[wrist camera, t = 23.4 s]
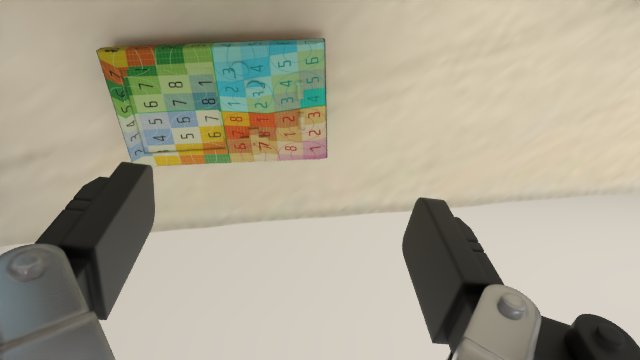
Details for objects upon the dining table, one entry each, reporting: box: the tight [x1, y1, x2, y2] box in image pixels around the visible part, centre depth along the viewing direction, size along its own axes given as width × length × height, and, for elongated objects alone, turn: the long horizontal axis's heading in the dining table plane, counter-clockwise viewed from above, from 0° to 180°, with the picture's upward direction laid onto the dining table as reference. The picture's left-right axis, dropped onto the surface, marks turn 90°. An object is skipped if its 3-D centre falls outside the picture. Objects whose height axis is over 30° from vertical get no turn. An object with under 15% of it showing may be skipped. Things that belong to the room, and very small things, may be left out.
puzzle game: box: [97, 39, 327, 166], centre depth 39 cm, size 12×5×20 cm
